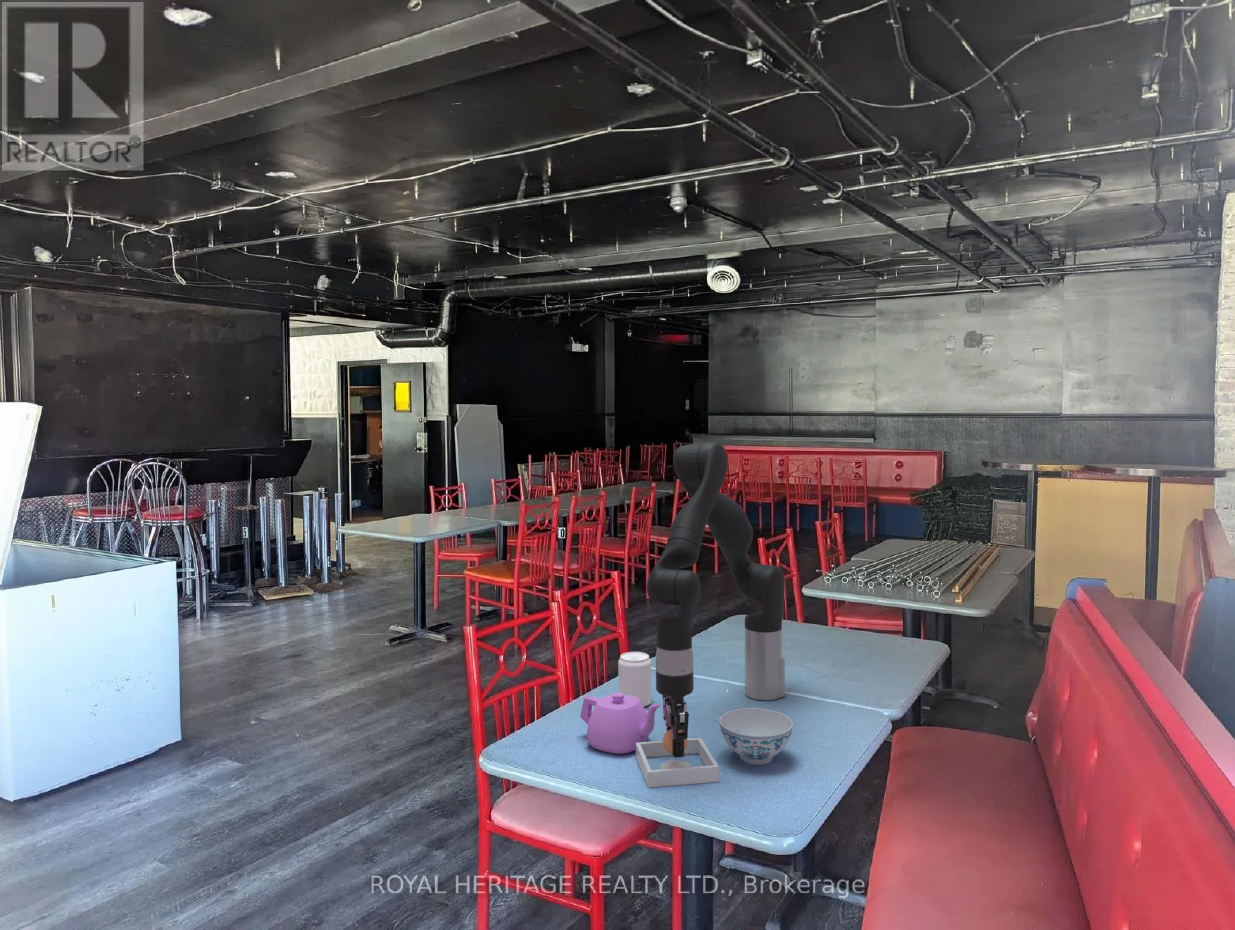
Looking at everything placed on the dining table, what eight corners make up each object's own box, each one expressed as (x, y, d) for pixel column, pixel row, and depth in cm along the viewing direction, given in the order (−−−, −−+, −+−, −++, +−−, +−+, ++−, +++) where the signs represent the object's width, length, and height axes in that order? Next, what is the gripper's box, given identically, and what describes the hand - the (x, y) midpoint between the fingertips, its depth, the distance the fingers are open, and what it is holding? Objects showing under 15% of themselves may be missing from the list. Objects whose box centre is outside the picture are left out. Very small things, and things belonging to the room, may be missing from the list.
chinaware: (777, 780, 155) (777, 741, 155) (707, 763, 163) (707, 726, 162) (803, 751, 168) (803, 716, 167) (737, 737, 176) (736, 703, 175)
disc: (687, 760, 164) (687, 759, 164) (695, 774, 158) (695, 772, 158) (657, 762, 163) (657, 761, 163) (663, 776, 157) (663, 775, 157)
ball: (684, 747, 163) (684, 723, 163) (690, 757, 158) (690, 733, 158) (660, 749, 163) (660, 725, 162) (665, 759, 158) (665, 735, 157)
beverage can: (652, 698, 201) (651, 651, 200) (650, 710, 193) (650, 661, 192) (620, 697, 201) (619, 650, 201) (617, 709, 193) (616, 660, 193)
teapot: (647, 765, 163) (646, 712, 162) (566, 746, 173) (565, 696, 172) (676, 741, 174) (675, 692, 173) (598, 724, 184) (597, 677, 183)
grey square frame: (701, 751, 169) (700, 737, 169) (718, 781, 155) (718, 766, 155) (635, 756, 167) (635, 742, 166) (648, 787, 153) (648, 772, 153)
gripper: (701, 678, 153) (702, 764, 154) (684, 656, 167) (685, 735, 168) (663, 681, 152) (664, 767, 153) (649, 658, 166) (650, 737, 167)
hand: (675, 750), depth 161 cm, fingers closed on ball, 5 cm apart
